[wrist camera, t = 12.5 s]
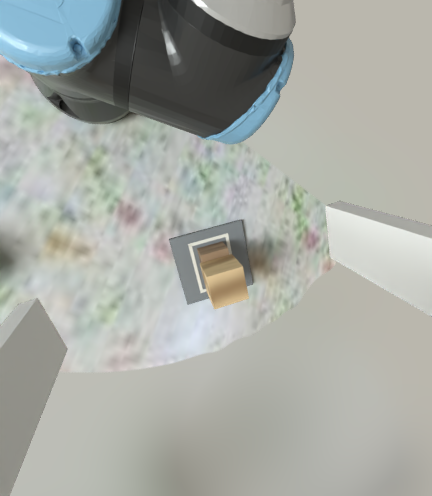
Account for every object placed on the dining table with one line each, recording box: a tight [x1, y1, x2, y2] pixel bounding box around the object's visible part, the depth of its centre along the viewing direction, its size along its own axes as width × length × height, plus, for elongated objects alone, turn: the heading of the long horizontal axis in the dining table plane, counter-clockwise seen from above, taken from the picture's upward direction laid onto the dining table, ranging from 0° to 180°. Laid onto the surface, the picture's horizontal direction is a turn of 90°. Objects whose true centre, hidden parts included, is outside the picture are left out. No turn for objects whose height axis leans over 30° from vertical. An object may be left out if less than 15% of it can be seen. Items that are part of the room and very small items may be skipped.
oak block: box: [200, 254, 249, 309], centre depth 47 cm, size 6×6×6 cm
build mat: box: [169, 220, 253, 305], centre depth 53 cm, size 14×14×1 cm
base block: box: [197, 241, 229, 263], centre depth 51 cm, size 8×5×4 cm, turn 12°
